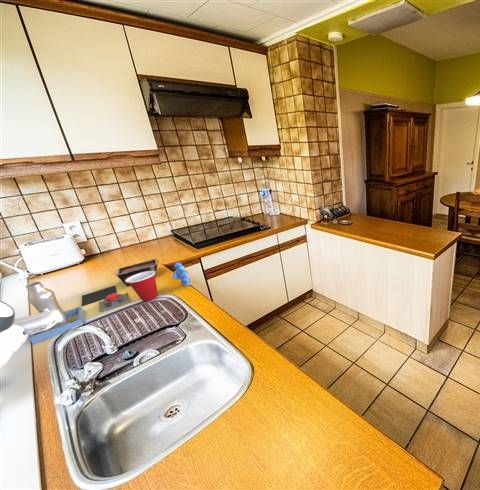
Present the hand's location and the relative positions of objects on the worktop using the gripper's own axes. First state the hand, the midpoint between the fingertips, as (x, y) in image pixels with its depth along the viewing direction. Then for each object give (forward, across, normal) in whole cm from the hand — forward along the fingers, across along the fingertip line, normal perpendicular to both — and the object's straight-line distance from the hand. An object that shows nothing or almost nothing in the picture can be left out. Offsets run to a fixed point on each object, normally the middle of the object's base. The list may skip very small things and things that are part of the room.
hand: (26, 315), depth 91 cm
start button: (+21, -15, +11) cm, 28 cm away
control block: (+21, -15, +14) cm, 29 cm away
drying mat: (+34, -6, +14) cm, 37 cm away
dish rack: (+13, 0, +14) cm, 19 cm away
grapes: (+21, -42, +14) cm, 49 cm away
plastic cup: (+17, -28, +14) cm, 36 cm away
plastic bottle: (+13, 0, +14) cm, 19 cm away
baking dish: (+43, -22, +14) cm, 50 cm away
